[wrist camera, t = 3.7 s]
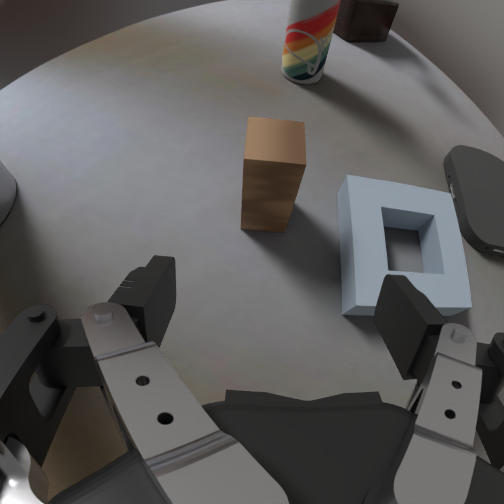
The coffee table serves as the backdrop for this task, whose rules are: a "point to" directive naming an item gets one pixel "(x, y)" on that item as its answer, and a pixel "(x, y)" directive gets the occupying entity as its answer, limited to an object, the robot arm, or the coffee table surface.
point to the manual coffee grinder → (365, 19)
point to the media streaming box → (477, 196)
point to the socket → (374, 247)
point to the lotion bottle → (308, 39)
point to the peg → (271, 172)
